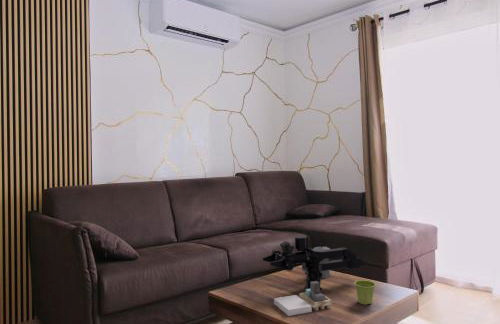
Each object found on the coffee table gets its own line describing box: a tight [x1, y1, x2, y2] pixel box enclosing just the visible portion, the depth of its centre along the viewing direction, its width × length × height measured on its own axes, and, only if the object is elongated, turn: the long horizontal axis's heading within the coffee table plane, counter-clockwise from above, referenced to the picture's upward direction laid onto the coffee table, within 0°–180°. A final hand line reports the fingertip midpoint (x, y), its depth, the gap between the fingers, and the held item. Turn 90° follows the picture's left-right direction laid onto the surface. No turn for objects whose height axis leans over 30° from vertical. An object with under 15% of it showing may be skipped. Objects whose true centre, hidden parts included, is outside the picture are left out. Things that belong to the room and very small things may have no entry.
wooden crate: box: [298, 281, 333, 311], centre depth 183 cm, size 9×13×10 cm
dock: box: [273, 294, 313, 317], centre depth 179 cm, size 11×15×2 cm
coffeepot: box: [313, 242, 331, 279], centre depth 224 cm, size 15×9×18 cm, turn 147°
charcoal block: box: [314, 292, 326, 302], centre depth 180 cm, size 4×3×3 cm
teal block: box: [305, 288, 311, 298], centre depth 187 cm, size 4×3×3 cm
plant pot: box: [354, 279, 377, 305], centre depth 184 cm, size 9×9×9 cm
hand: (266, 261), depth 195 cm, fingers open, 9 cm apart
